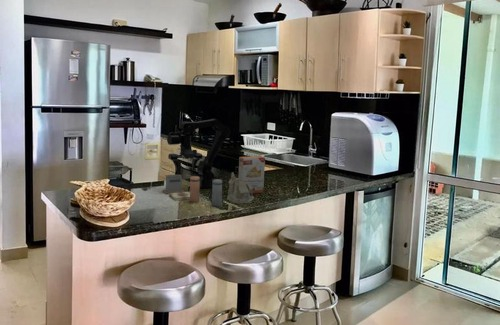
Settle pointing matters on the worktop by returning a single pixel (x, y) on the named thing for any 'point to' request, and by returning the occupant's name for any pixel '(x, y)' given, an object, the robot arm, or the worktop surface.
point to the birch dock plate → (180, 196)
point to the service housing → (173, 184)
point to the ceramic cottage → (239, 191)
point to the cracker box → (252, 172)
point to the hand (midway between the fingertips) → (185, 171)
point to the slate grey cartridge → (217, 192)
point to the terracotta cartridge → (194, 189)
